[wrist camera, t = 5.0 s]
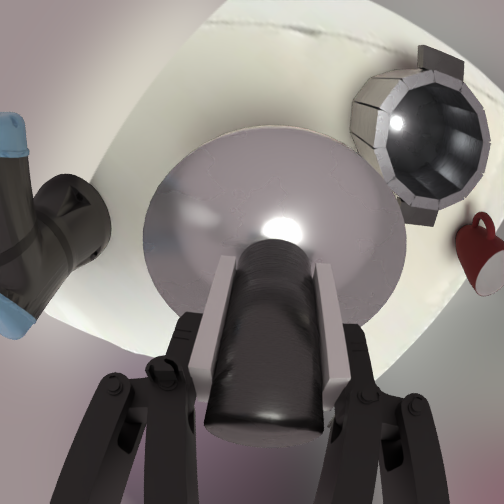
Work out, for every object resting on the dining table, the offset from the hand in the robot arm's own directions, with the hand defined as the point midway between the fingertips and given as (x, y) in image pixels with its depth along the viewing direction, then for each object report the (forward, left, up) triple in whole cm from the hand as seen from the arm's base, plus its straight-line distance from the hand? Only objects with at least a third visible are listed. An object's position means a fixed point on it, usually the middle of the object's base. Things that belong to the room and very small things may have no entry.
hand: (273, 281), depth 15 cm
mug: (+30, -6, -22) cm, 38 cm away
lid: (0, 0, -4) cm, 4 cm away
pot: (+15, +7, -22) cm, 28 cm away
